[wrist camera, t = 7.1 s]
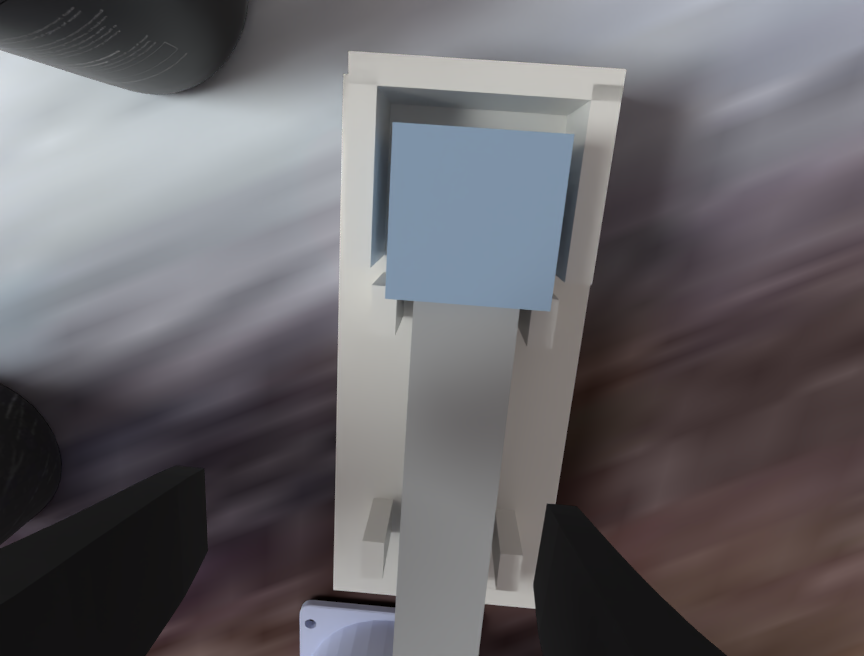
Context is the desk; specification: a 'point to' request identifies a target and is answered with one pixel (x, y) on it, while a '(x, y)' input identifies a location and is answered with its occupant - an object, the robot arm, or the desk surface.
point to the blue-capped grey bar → (463, 350)
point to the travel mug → (24, 463)
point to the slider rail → (392, 319)
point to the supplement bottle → (126, 39)
